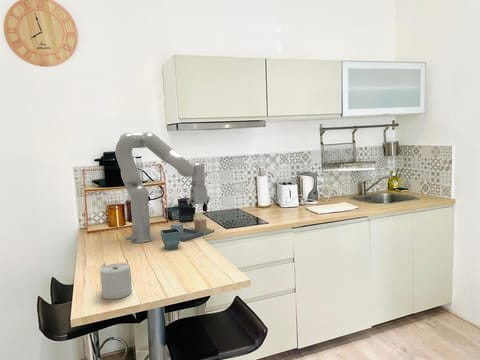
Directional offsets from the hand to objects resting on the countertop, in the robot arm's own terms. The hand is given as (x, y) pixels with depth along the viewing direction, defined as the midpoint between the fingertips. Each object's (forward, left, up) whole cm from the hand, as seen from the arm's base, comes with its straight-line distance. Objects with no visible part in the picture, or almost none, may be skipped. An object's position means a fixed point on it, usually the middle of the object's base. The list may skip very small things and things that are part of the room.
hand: (198, 212), depth 228 cm
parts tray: (-12, 0, -12) cm, 17 cm away
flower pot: (-30, -11, -12) cm, 34 cm away
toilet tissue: (-79, -40, -12) cm, 90 cm away
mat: (+1, 0, -12) cm, 12 cm away
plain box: (-14, +3, -11) cm, 18 cm away
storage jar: (+15, +30, -12) cm, 35 cm away
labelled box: (+1, 0, -11) cm, 11 cm away
